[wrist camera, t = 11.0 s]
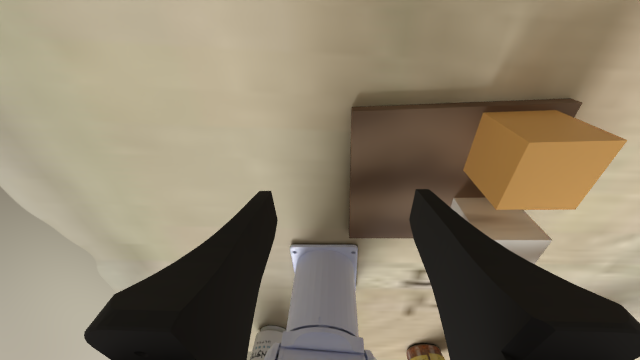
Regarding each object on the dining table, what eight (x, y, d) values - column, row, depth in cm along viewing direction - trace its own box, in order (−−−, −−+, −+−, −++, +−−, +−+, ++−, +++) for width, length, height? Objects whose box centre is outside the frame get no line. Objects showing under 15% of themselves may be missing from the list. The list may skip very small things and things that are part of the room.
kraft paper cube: (525, 169, 20) (575, 209, 16) (463, 170, 20) (495, 209, 16) (556, 110, 17) (627, 140, 13) (483, 112, 17) (529, 142, 13)
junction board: (499, 231, 25) (538, 283, 20) (349, 231, 26) (352, 280, 22) (570, 98, 17) (664, 131, 12) (351, 107, 19) (357, 140, 14)
